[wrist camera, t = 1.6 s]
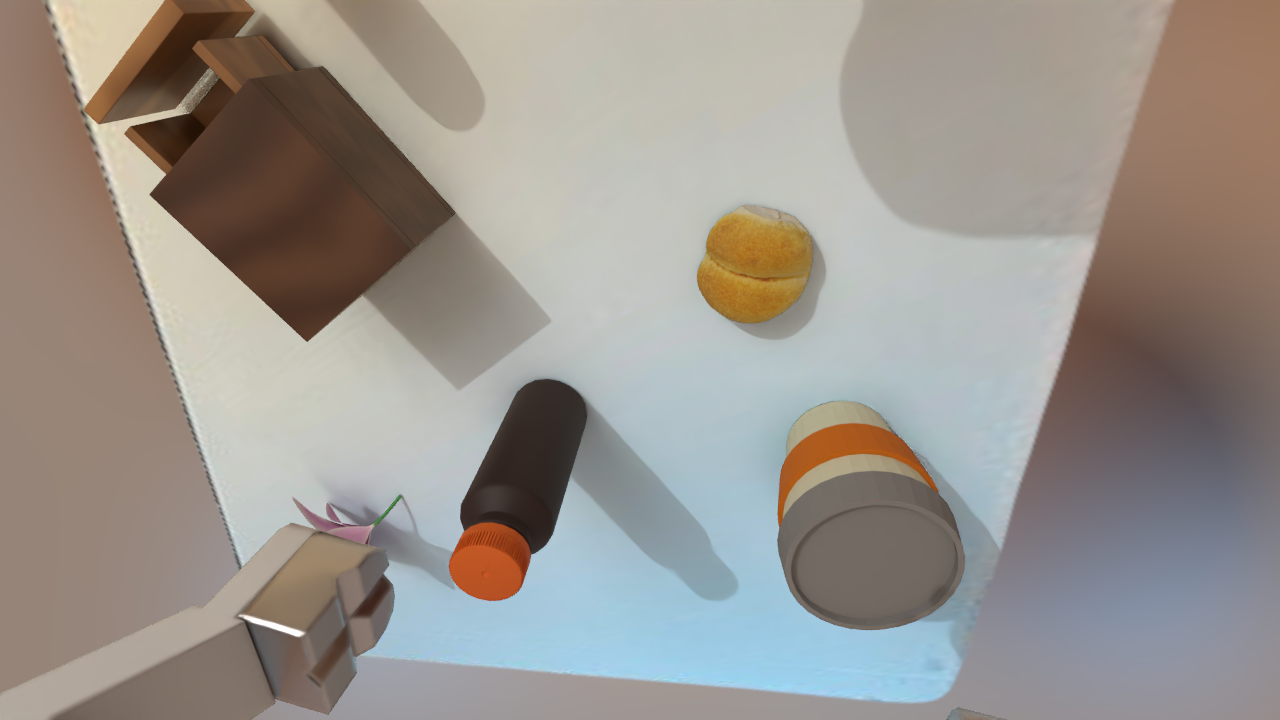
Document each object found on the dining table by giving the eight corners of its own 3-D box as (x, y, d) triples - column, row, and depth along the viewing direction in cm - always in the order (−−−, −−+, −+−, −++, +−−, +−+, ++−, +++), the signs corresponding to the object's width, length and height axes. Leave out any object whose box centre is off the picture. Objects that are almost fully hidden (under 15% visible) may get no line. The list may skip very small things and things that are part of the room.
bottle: (556, 364, 60) (490, 517, 42) (602, 420, 62) (558, 588, 44) (497, 399, 62) (412, 559, 44) (544, 452, 64) (481, 625, 46)
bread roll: (688, 301, 56) (687, 322, 52) (718, 194, 51) (719, 208, 48) (787, 325, 56) (792, 347, 52) (825, 220, 52) (833, 236, 48)
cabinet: (232, 165, 54) (148, 194, 46) (322, 65, 50) (248, 78, 42) (362, 294, 58) (306, 342, 50) (456, 212, 54) (411, 250, 46)
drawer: (148, 82, 51) (66, 94, 44) (227, -20, 47) (150, -23, 40) (293, 226, 55) (238, 257, 48) (377, 144, 51) (329, 164, 45)
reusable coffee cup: (738, 461, 62) (745, 585, 49) (822, 357, 57) (856, 465, 44) (851, 521, 64) (887, 656, 51) (943, 426, 59) (1010, 550, 46)
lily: (322, 442, 67) (246, 524, 62) (411, 476, 62) (337, 567, 57) (376, 509, 76) (314, 586, 70) (459, 543, 71) (399, 629, 65)
